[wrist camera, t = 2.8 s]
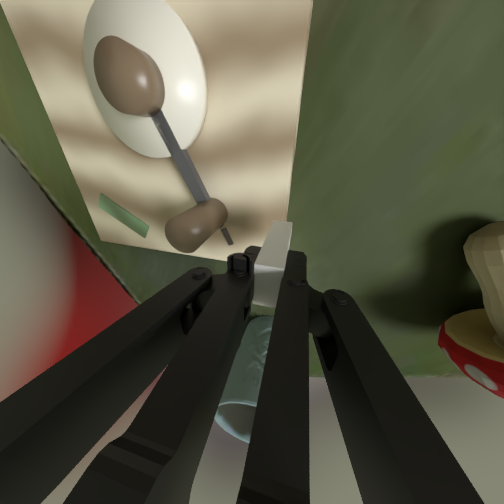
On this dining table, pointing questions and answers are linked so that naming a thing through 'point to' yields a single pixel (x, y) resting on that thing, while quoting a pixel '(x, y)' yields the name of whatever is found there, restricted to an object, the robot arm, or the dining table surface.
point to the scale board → (213, 133)
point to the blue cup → (245, 380)
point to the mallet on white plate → (153, 97)
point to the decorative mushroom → (481, 314)
